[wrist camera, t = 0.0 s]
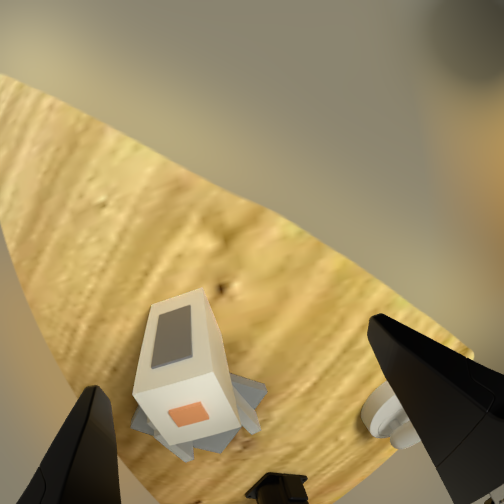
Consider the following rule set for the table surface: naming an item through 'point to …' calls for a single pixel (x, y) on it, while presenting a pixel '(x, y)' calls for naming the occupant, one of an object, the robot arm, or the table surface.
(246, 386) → the plate
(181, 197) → the table surface
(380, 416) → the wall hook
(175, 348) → the white block orange patch
